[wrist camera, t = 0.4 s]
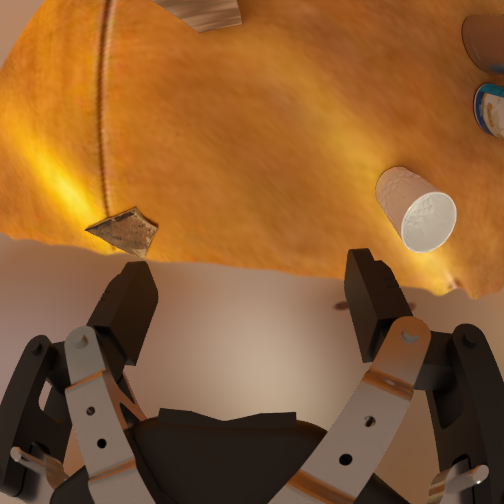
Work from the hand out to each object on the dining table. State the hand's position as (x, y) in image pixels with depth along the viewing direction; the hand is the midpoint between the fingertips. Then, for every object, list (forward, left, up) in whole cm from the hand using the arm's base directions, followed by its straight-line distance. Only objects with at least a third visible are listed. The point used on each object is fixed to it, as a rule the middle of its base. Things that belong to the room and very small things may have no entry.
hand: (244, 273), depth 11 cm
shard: (+24, +3, -26) cm, 35 cm away
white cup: (-14, +15, -26) cm, 33 cm away
